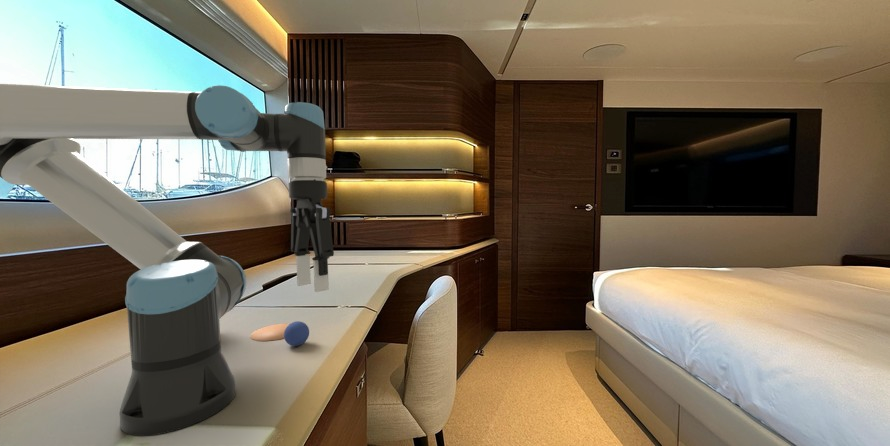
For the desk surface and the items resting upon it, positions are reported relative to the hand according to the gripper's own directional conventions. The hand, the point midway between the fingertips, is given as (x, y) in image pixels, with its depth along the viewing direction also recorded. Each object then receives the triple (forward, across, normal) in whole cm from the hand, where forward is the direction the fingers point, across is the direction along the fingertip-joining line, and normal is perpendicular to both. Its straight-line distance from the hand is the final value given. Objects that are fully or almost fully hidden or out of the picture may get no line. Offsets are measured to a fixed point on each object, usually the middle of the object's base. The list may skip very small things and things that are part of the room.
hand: (312, 287), depth 75 cm
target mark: (+15, +22, 0) cm, 27 cm away
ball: (+12, +10, 0) cm, 16 cm away
